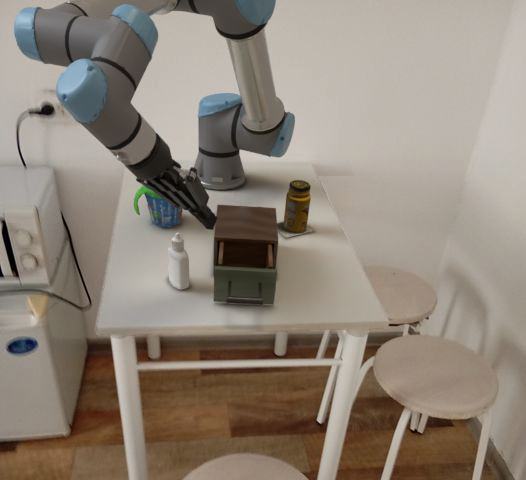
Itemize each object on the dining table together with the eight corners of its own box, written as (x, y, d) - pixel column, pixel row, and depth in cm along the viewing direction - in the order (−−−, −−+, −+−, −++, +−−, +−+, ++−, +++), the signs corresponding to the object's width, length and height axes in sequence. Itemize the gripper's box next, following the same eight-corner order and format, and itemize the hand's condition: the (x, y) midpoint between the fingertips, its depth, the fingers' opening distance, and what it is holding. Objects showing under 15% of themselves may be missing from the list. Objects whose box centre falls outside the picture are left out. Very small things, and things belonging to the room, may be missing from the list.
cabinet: (274, 279, 124) (278, 240, 118) (213, 275, 123) (214, 236, 117) (272, 244, 136) (275, 207, 129) (216, 241, 135) (217, 204, 129)
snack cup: (141, 235, 134) (138, 196, 128) (130, 216, 141) (126, 177, 135) (202, 226, 140) (202, 188, 133) (188, 208, 147) (188, 171, 141)
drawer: (274, 324, 109) (278, 291, 104) (211, 321, 109) (212, 288, 104) (271, 267, 126) (274, 236, 121) (216, 264, 125) (217, 233, 120)
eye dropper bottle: (168, 290, 117) (166, 239, 109) (168, 276, 121) (166, 226, 114) (189, 290, 118) (188, 240, 110) (189, 276, 122) (188, 226, 114)
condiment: (313, 231, 142) (319, 186, 135) (286, 238, 138) (291, 192, 131) (296, 219, 147) (301, 175, 139) (270, 226, 143) (274, 181, 135)
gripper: (102, 167, 93) (180, 238, 113) (161, 167, 87) (233, 242, 106) (118, 129, 95) (192, 205, 115) (177, 127, 88) (245, 208, 108)
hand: (212, 223), depth 110 cm, fingers closed
